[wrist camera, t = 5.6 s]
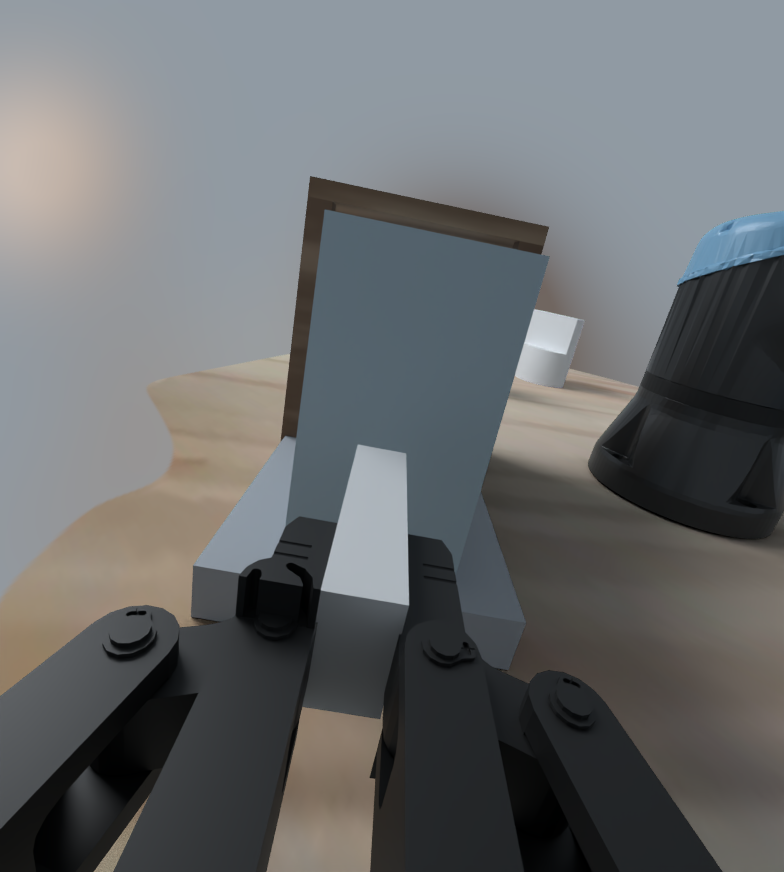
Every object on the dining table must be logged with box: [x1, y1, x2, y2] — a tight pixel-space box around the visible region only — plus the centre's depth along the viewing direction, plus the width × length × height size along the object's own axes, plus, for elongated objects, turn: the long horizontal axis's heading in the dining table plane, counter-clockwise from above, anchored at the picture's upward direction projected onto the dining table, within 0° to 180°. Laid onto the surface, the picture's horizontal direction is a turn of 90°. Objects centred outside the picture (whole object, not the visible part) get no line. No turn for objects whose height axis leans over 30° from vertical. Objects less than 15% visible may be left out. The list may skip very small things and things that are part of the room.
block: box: [285, 210, 549, 575], centre depth 22 cm, size 14×7×13 cm, turn 178°
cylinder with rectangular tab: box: [515, 309, 585, 388], centre depth 81 cm, size 9×9×12 cm
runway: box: [191, 436, 526, 670], centre depth 30 cm, size 26×13×2 cm, turn 178°
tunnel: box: [281, 176, 549, 441], centre depth 34 cm, size 12×14×18 cm
